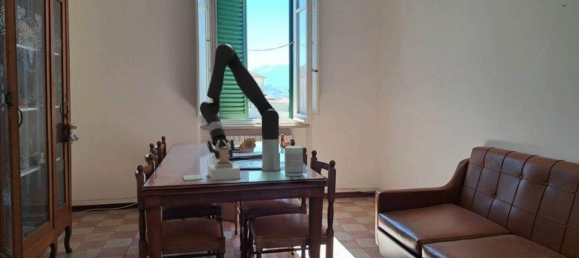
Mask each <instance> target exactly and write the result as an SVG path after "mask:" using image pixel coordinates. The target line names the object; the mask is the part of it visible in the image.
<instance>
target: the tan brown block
mask: <svg viewBox="0 0 579 258" xmlns="http://www.w3.org/2000/svg"><path fill="white" fill-rule="evenodd" d="M218 154H219V159H218V162H219V164H228V161H229V154H228V147H226V146H223V147H219V149H218Z"/></svg>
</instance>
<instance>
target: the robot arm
mask: <svg viewBox="0 0 579 258" xmlns="http://www.w3.org/2000/svg"><path fill="white" fill-rule="evenodd" d="M214 54H215V55H214V65H213V70H212V73H211V74H212V75H211V78H210V82H209V84H208V89H207V92H206V93H207V94H206V96H207V97H208V98H210V99H212V102H210V101H203V102H201V103H200V105H199V111H200V112H199V113H200V114H201V116H202V117H203V119H204V120H205V122H206V124H207V127H208V131H209V132H208V133H209V135H210V138H211V140H208V141H207V143H206V146H207V148H208V151H209V152H210V153H211V154H214V157H215V159H217V160H219V147H223V146H226V147H228V158H229V159H232V158H233V156H234V154H233V152H234V150H235V142H234V139H230V140H228V139H227V136H226V133H225V132H226V131H225V130H224V127H223V125H222V121H221V119H220V116H219V115H218V114H219V112H220V110H221V109H220V105H221V104H220V103H221V102H220V100H221V98H220V97H221V94H222V91H223V86H224V79H225V71H226V68H227V67H228V68H229V70H230V72H231V73H232V75H233V77H234V80H235V82H236V84H237V86H238V88H239V89H240V90H241V92H242V93H243V95H244V96H245V98H247V99H248V100H249V101H250V103H252V104H253V106H255V108H256V109H257V111H258V113H259V115H260V117H261V170H262V171H265V172H277V171H280V170H281V152H280V115H279V112H278V111H277V110H276V109H275V108H274V107H273V106H272V104H271V103H270V102H269V101H268V99H267V98H266V96H265V95H264V93H263V91H262V89H261V87H260V85H259V84H258V82H257V81H256V79H255V78H254V77H253V75H252V74H251V73H250V72H249V70H248V69H247V67H246V66H245V65H244V64H243V62H242V60H241V59H240V57H239V56H238V53H237V52H236V50H235V49H234V47H233V46H232V45H230V44H228V43H221V44H219V45H217V47H216V49H215V52H214ZM213 146H214V147H215V148H214V147H213Z"/></svg>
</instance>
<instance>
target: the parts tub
mask: <svg viewBox="0 0 579 258" xmlns="http://www.w3.org/2000/svg"><path fill="white" fill-rule="evenodd" d="M241 168H242V166H241V164H236V163H232V161H231V160H228V164H219V161H214V164H207V169H208V170H207V171H208V177H210V179H211V180H212V181H216V180H217V181H218V180H232V179H241Z"/></svg>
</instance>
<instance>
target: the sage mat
mask: <svg viewBox="0 0 579 258" xmlns="http://www.w3.org/2000/svg"><path fill="white" fill-rule="evenodd" d="M182 178H183V181H185V182H187V181H189V182H190V181H202V180H204V177H203V175H202V174H192V175H191V174H190V175H183V176H182Z"/></svg>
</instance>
